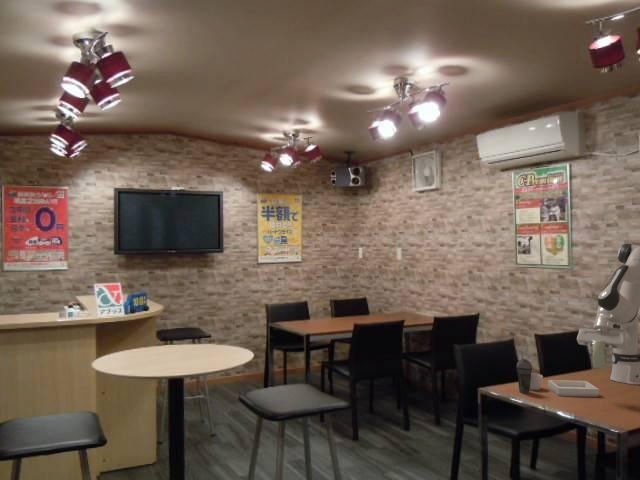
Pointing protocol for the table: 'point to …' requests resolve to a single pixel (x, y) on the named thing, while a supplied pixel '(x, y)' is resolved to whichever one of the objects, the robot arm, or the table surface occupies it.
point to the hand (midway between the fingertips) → (598, 353)
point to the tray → (573, 388)
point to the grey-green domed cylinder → (598, 354)
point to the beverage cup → (524, 374)
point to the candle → (535, 381)
